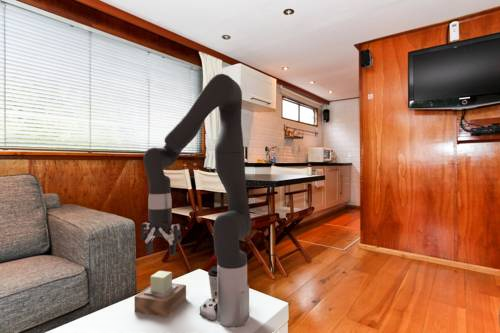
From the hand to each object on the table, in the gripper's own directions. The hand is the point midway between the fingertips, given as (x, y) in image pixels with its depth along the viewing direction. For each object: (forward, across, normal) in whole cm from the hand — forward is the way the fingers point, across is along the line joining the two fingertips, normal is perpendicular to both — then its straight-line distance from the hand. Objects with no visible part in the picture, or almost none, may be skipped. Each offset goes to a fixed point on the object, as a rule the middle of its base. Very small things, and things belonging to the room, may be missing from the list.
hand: (161, 254), depth 93 cm
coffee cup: (+18, -16, -11) cm, 26 cm away
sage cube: (+12, 0, 0) cm, 12 cm away
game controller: (+18, -18, -1) cm, 26 cm away
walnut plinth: (+17, 0, 0) cm, 17 cm away
